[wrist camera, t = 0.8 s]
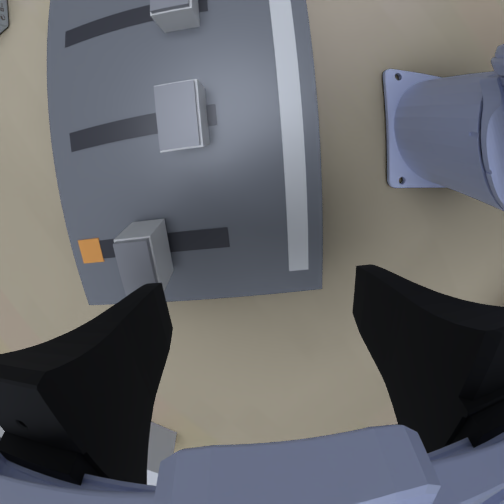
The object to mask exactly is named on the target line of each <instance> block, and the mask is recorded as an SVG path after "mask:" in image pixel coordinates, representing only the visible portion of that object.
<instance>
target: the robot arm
mask: <svg viewBox="0 0 504 504" xmlns="http://www.w3.org/2000/svg"><path fill="white" fill-rule="evenodd" d="M491 64H492V66H493V69H494V71H491V72H482V73H473V74H465V75H458V76H451V77H444V78H442V77H437V76H432V75H427V74H422V73H416V72H409V71H403V70H396V69H387V70H385V71H384V72H383V85H384V97H385V112H386V132H387V182H388V184H389V185H390V186H391V187H393V188H449V189H452V190H455V191H457V192H460V193H462V194H465V195H467V196H470V197H472V198H475V199H477V200H479V201H482V202H484V203H486V204H489V205H491V206H493V207H495V208H498V209H500V210H502V211H504V44H502V45H499V46H498V47H497V50H496V52H495V57H493V58H492V59H491ZM395 74H397V75H398V76H399V80H397V79H396V78H395ZM400 177H402V178H403V181H402V183H399V178H400ZM353 315H354V318H355V321H356V324H357V327H358V330H359V332H360V334H361V336H362V338H363V340H364V342H365V344H366V346H367V348H368V350H369V352H370V354H371V356H372V358H373V360H374V361H375V363H376V365H377V367H378V369H379V371H380V373H381V375H382V377H383V380H384V382H385V384H386V387H387V390H388V393H389V396H390V399H391V402H392V405H393V408H394V411H395V415H396V418H397V422H398V424H395V425H386V426H374V427H367V428H363V429H358V430H353V431H348V432H343V433H338V434H332V435H326V436H320V437H313V438H306V439H298V440H290V441H281V442H270V443H257V444H238V445H211V446H203V447H195V448H187V449H182V450H180V451H177V452H176V453H174V454H172V455H171V456H169V457H167V458H166V459H164V460H162V461H161V462H160V467H159V473H158V478H157V484H156V486H154V485H147V461H148V445H149V435H150V426H151V419H152V412H153V405H154V401H155V397H156V393H157V390H158V386H159V383H160V380H161V376H162V373H163V370H164V366H165V363H166V360H167V356H168V353H169V350H170V343H171V337H172V330H173V327H172V323H171V319H170V315H169V311H168V307H167V303H166V299H165V294H164V290H163V286H162V283H147V284H145V285H143V286H141V287H139V288H138V289H136V290H135V291H133V292H132V293H130V294H129V295H128V296H126V297H125V298H123V299H122V300H121V301H119V302H118V303H116V304H115V305H114V306H112V307H111V308H109V309H108V310H106V311H105V312H103V313H102V314H100V315H98V316H97V317H95V318H94V319H92V320H91V321H89V322H87V323H85V324H84V325H82V326H80V327H78V328H76V329H74V330H72V331H70V332H68V333H66V334H64V335H61V336H59V337H57V338H54V339H52V340H50V341H47V342H44V343H41V344H39V345H36V346H32V347H29V348H26V349H22V350H18V351H14V352H9V353H4V354H0V426H1V427H2V428H3V430H4V431H5V432H4V434H3V436H2V438H0V504H504V307H500V306H491V305H485V304H479V303H475V302H470V301H465V300H461V299H457V298H454V297H451V296H448V295H444V294H441V293H438V292H436V291H433V290H431V289H428V288H426V287H423V286H421V285H418V284H416V283H414V282H411V281H409V280H407V279H405V278H403V277H401V276H398V275H396V274H394V273H392V272H390V271H388V270H385V269H383V268H381V267H378V266H375V265H361V266H356V279H355V292H354V303H353Z"/></svg>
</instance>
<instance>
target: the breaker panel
mask: <svg viewBox="0 0 504 504" xmlns="http://www.w3.org/2000/svg"><path fill="white" fill-rule="evenodd" d="M47 93H48V110H49V122H50V133H51V142H52V150H53V157H54V164H55V171H56V177H57V183H58V188H59V194H60V199H61V204H62V209H63V213H64V218H65V222H66V227H67V231H68V235H69V239H70V243H71V247H72V250H73V254H74V258H75V261H76V265H77V268H78V272H79V275H80V278H81V281H82V285H83V288H84V291H85V294H86V297H87V300H88V303H89V305H104V304H116V303H118V302H119V301H121V300H122V299H123V298H125V297H126V294H125V290H124V287H123V283H122V279H121V276H120V272H119V268H118V264H117V260H116V256H115V252H114V248H113V244H114V239H115V238H116V237H117V236H118V235H119V234H120V233H121V232H122V231H123V230H124V229H126V228H127V227H128V226H129V225H130V224H131V223H132V222H139V221H147V220H155V219H165V225H166V231H167V236H168V242H169V247H170V253H171V258H172V263H173V269H174V270H173V273H172V275H171V277H170V279H169V281H168V284H167V286H166V288H165V290H164V294H165V299H166V302H170V301H186V300H202V299H216V298H229V297H242V296H253V295H265V294H276V293H286V292H297V291H306V290H316V289H322V264H323V220H322V177H321V153H320V135H319V119H318V105H317V93H316V81H315V71H314V61H313V52H312V43H311V35H310V27H309V19H308V12H307V5H306V0H50V9H49V20H48V37H47Z"/></svg>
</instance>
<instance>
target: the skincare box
mask: <svg viewBox="0 0 504 504" xmlns="http://www.w3.org/2000/svg"><path fill="white" fill-rule="evenodd" d="M7 27H8V6H7V0H0V33H1V32H2V31H3V30H4V29H6V28H7Z"/></svg>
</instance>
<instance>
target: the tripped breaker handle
mask: <svg viewBox="0 0 504 504" xmlns="http://www.w3.org/2000/svg"><path fill="white" fill-rule="evenodd" d="M113 248H114V252H115V256H116V260H117V264H118V268H119V272H120V276H121V279H122V283H123V287H124V290H125V294H126V296H128V295H129V294H130V293H132V292H133V291H135V290H136V289H138V288H139V287H141V286H143V285H145V284H147V283H162V286H163V290H165V288H166V286H167V284H168V281H169V279H170V277H171V275H172V273H173V270H174V269H173V263H172V258H171V253H170V247H169V242H168V236H167V231H166V225H165V219H155V220H147V221H139V222H132V223H131V224H130V225H129V226H128V227H127V228H126V229H124V230H123V231H122V232H121V233H120V234H119V235H118V236H117V237H116V238H115V239H114V244H113Z"/></svg>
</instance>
